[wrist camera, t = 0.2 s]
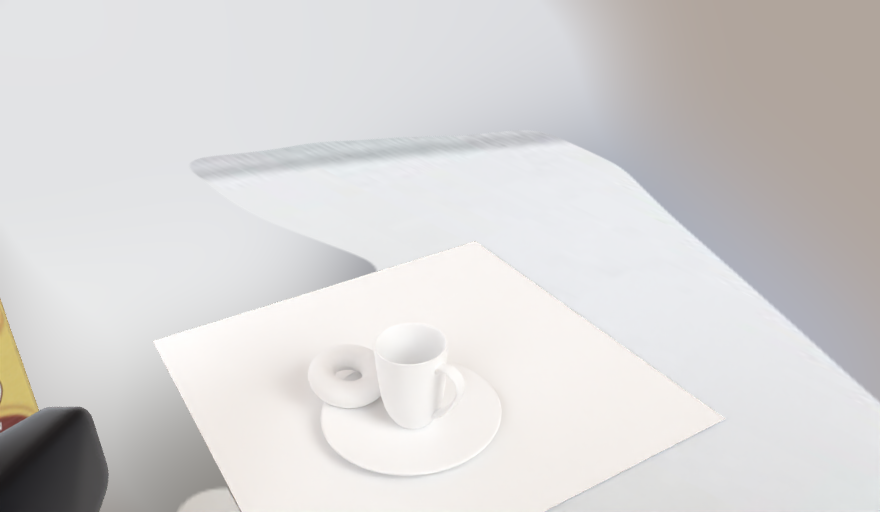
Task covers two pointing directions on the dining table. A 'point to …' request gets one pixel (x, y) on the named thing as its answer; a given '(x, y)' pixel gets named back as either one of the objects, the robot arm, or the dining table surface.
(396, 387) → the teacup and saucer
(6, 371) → the candy box
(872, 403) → the dining table surface
